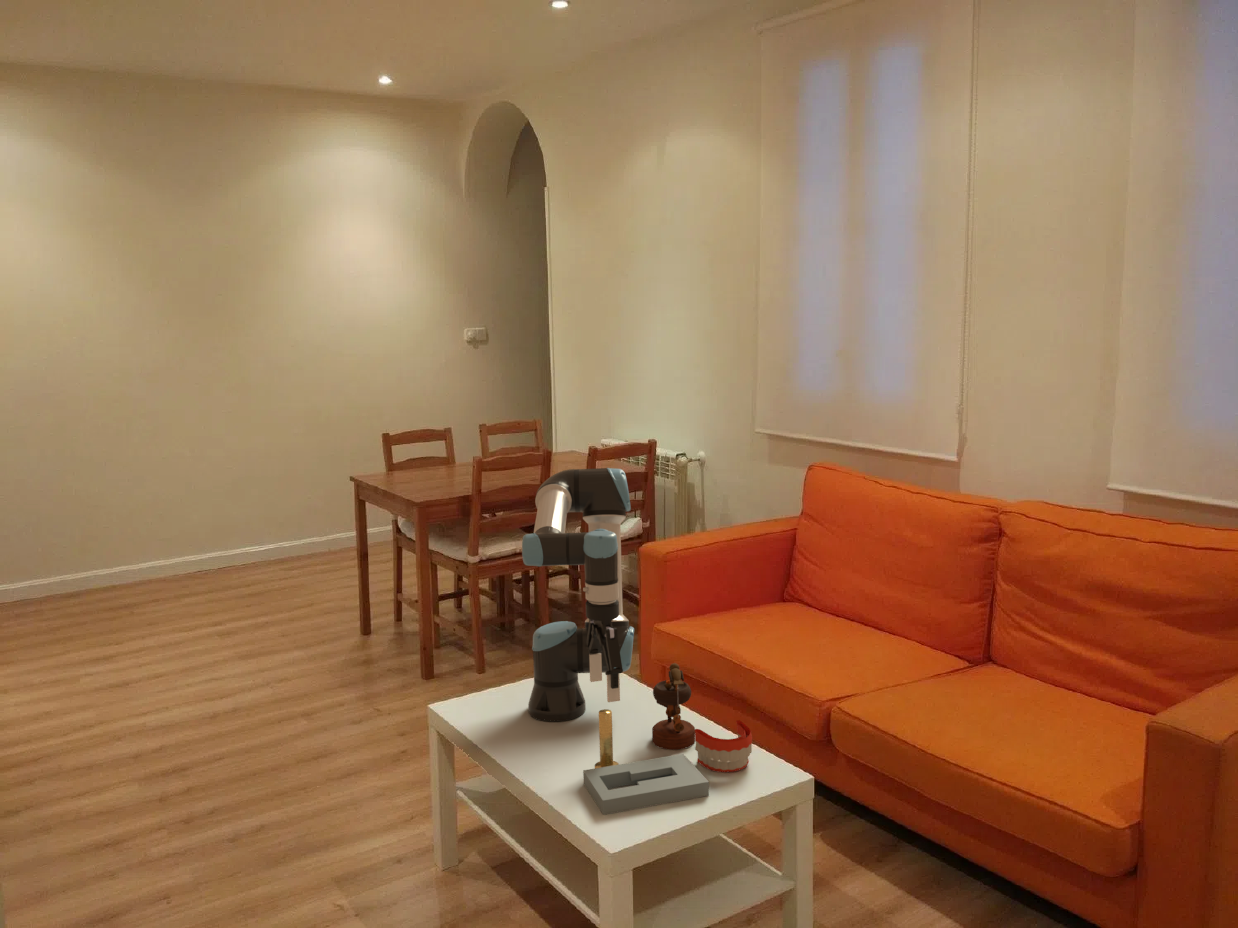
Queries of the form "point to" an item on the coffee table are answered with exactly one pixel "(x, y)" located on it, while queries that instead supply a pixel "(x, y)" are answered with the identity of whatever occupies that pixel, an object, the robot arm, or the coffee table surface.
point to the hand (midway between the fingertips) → (604, 690)
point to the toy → (724, 750)
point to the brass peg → (605, 739)
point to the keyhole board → (645, 783)
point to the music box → (673, 712)
